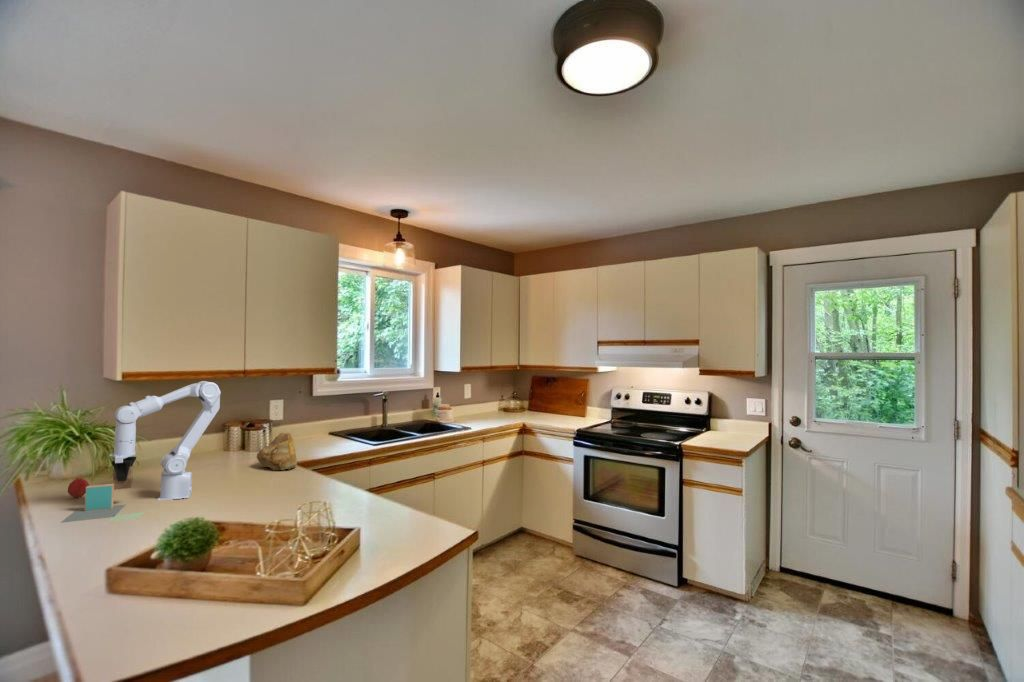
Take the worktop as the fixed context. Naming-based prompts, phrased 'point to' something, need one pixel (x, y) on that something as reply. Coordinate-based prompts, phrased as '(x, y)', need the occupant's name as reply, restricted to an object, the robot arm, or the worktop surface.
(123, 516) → the rest pad
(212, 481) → the worktop surface
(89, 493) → the tile
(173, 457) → the robot arm
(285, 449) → the rough brown rock
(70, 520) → the mat
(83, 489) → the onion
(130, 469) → the walnut block
